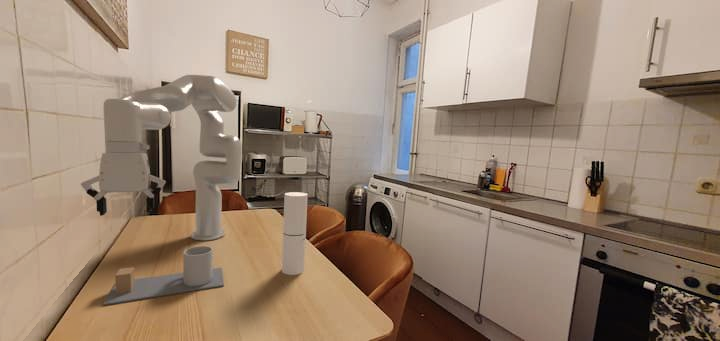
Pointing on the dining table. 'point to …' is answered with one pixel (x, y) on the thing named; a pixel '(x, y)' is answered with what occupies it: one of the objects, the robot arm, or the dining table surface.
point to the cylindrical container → (294, 233)
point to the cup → (197, 266)
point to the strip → (154, 286)
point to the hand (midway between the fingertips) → (127, 212)
